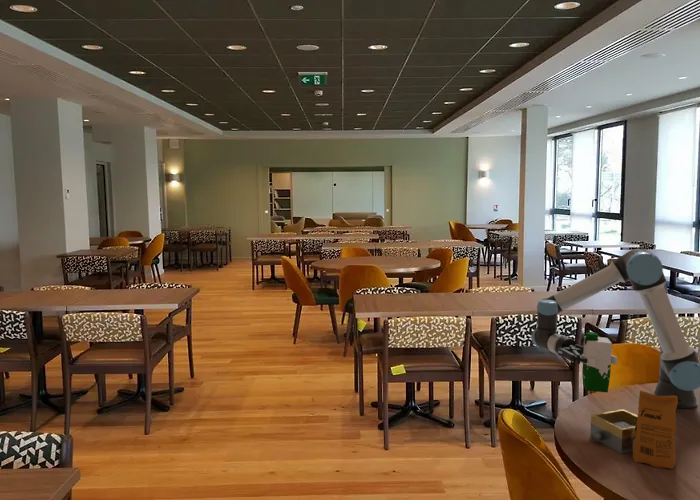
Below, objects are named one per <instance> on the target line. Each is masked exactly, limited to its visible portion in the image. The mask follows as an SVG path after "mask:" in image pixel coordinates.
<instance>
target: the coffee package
mask: <svg viewBox="0 0 700 500" xmlns="http://www.w3.org/2000/svg"><path fill="white" fill-rule="evenodd" d="M677 404H678V397H677V396H657V395H654V393H649V392H648V391H643V390H639V398H638V409H637V410H638V413H637V416H638V418H637V424H636V427H635V430H634V434H633V452H632V459H633V462H635V463H638V464H647V465H648V466H649V465H650V466H651V467H654V468H660V469H674V467H675V465H676V462H677V453H676V446H675V434H676V430H677V422H676V421H677V420H676V411H677V409H678V408H677Z"/></svg>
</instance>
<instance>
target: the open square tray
mask: <svg viewBox="0 0 700 500" xmlns="http://www.w3.org/2000/svg"><path fill="white" fill-rule="evenodd" d="M637 418H638V414H635V413H633V412H630V411H629V410H626V409H623V408H622V409H617V410H611V411H605V412H599V413H593V414H591V415H590V439H591V441H593V442H598V443H600V444H603V445H604V446H606V447H608V448H609V449H612V450H613V451H616V452H617V453H619V454H621V455H623V454H627V453H631V452H632V453H633V434H634V430H635V427H636V424H637Z"/></svg>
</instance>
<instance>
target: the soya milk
mask: <svg viewBox="0 0 700 500" xmlns="http://www.w3.org/2000/svg"><path fill="white" fill-rule="evenodd" d="M583 337H584V338H583V346H584V350H583V355H585V356H588V357H590V358H593V359H596V367H592V366H589V365H587V364H584V363H582V368H581V369H582V374H581V375H582V376H581V377H582V385H583V387H584V390H585V391H586V392H596V393H597V392H598V393H608V392H609V386H610V381H611V368H612V363H611V355H613V353H612V349H613V348H612V346H613V345H612V344H613V342H612V341H611V340H610V339H609V338H608V337H601V336H599V333H598V332H593V331H590V332H589V331H587V332H585V336H583Z"/></svg>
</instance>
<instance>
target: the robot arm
mask: <svg viewBox="0 0 700 500" xmlns="http://www.w3.org/2000/svg"><path fill="white" fill-rule="evenodd" d="M662 263H663V262H662V261H661V260H660V259H659V257H658V256H657V255H656V254H654V253H652V252H650V251H648V250H646V249H644V248H643V249H642V248H634V249H631V250H629V251H627V252H626V253H624V254H622V255H621V256H618V257H617V258H616V259H614V260H612V261H610V264H609V265H607V266H606V267H604V268H602V269H600V270H598V271H596V272H594V273H593V274H591V275H589V276H587V277H585V278H583V279H581V280H579V281H577V282H575V283H574V284H572V285H569V286H568V287H566V288H564V289H562V290H560V291H558V292H557V293H555V294H553V295H551V296H549V297H545V298H542V299H540V300H538V302H537V306H536V310H537V311H536V312H537V315H536V323H537V324H536V328H535V329H533V331H532V333H531V335H530V339H531V342H532V344H534V346H536V347H538V348H540V349H543V350H546V351H548V352H550V353H553V354H555V355H557V356H561V357H563V358H565V359H566V360H569V361H570V362H572V363H575V362H576V364H577V365H580V364H581V363H582V364H583V363H584V364H587V365H589V366H592V367H596V359H593V358H590V357H588V356H585V355H583V350H584V345H580V344H578V343H577V342H576V341H575V340H574V338H571V337H568V336H565V335H563V334H560V333H557V331H558V329H557V328H558V314H559V313H562V312H563V311H565V310H568V309H569V308H571V307H573V306H575V305H577V304H579V303H581V302H583V301H585V300H587V299H589V298H591V297H593V296H595V295H597V294H599V293H601V292H603V291H605V290H606V289H609V288H611V287H613V286H615V285H617V284H619V283H620V282H621V283H627V282H629V281H630V284H631V286H632V289H633V292H636V293H638V294H640V295H639V296H640V297H641V300H642V302H643V306H644V307H645V310H646V312H647V314H648V318H649V320H650V322H651V325H652V326H653V330H654V331H655V335H656V337H657V340H658V342H659V345H660V351H659V373H658V374H659V375H658V377H659V378H658V383H657V385H656V387H655V390H654V392H653V395H657V396H677V397H678V404H677V408H676V409H693V408H695V407H696V406H697V402H698V401H697V397H696V395H695V390H697V389H699V388H700V360H699V358H698V356H697V354H696V351H695V348H694V347H692V346H690V345H688V343H687V340H686V338H685V335H684V333H683V330H682V328H681V325H680V323H679V320H678V318H677V316H676V312H675V310H674V308H673V306H672V305H673V304H672V303H671V301H670V298H669V296H668V293H667V291H666V288H665V284H666V283H667V279H666V276H665V274H664V271H663V270H664V269H663V264H662ZM612 364H613V365H618V356H616V355H613V354H611V365H612Z"/></svg>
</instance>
